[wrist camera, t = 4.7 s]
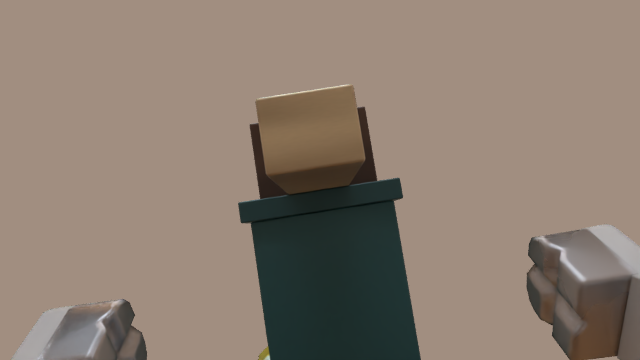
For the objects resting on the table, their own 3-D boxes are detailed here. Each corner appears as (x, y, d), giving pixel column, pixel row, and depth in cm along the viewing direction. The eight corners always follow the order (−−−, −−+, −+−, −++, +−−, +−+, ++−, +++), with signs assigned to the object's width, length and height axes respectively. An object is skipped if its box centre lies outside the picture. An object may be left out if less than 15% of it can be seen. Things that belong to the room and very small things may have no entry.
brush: (416, 153, 14) (393, 24, 14) (215, 184, 14) (198, 54, 14) (364, 193, 32) (354, 135, 32) (276, 206, 32) (267, 148, 32)
